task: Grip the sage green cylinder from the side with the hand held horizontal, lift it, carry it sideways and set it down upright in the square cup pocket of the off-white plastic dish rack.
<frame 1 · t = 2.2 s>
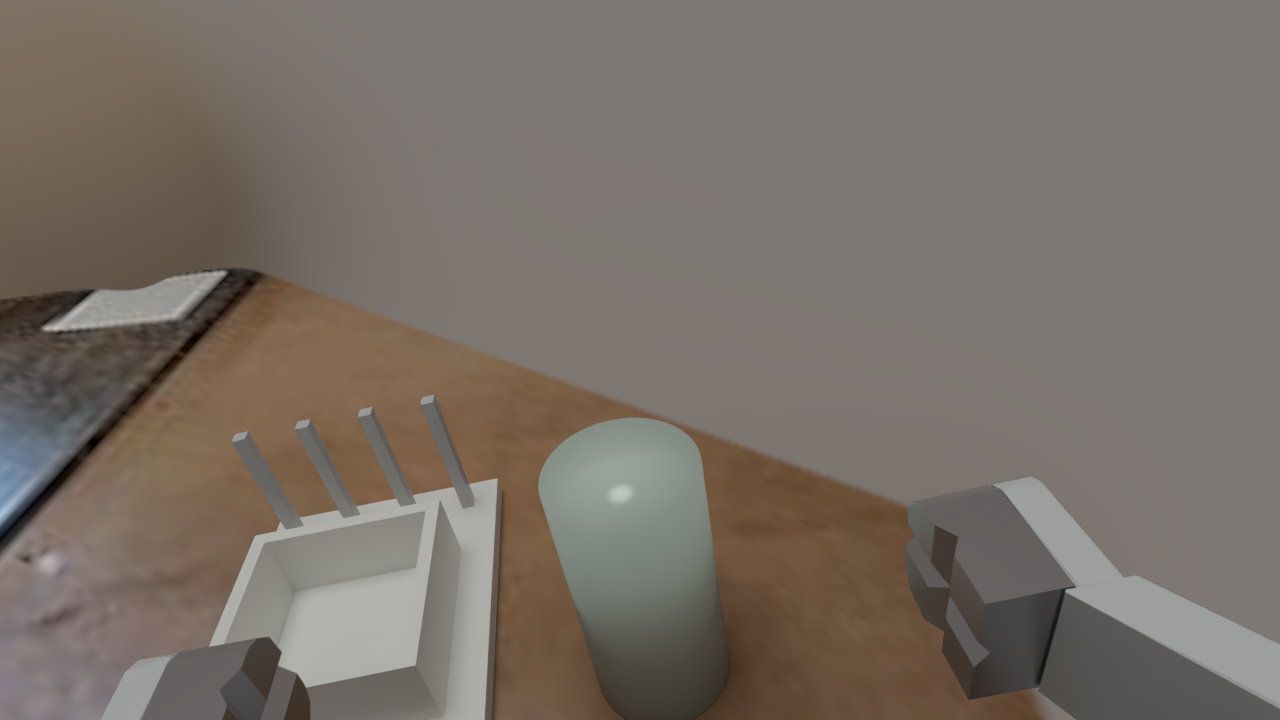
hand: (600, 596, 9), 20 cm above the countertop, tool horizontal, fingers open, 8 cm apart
sage green cylinder: (662, 662, 31), on the countertop
dish rack: (365, 656, 33), on the countertop
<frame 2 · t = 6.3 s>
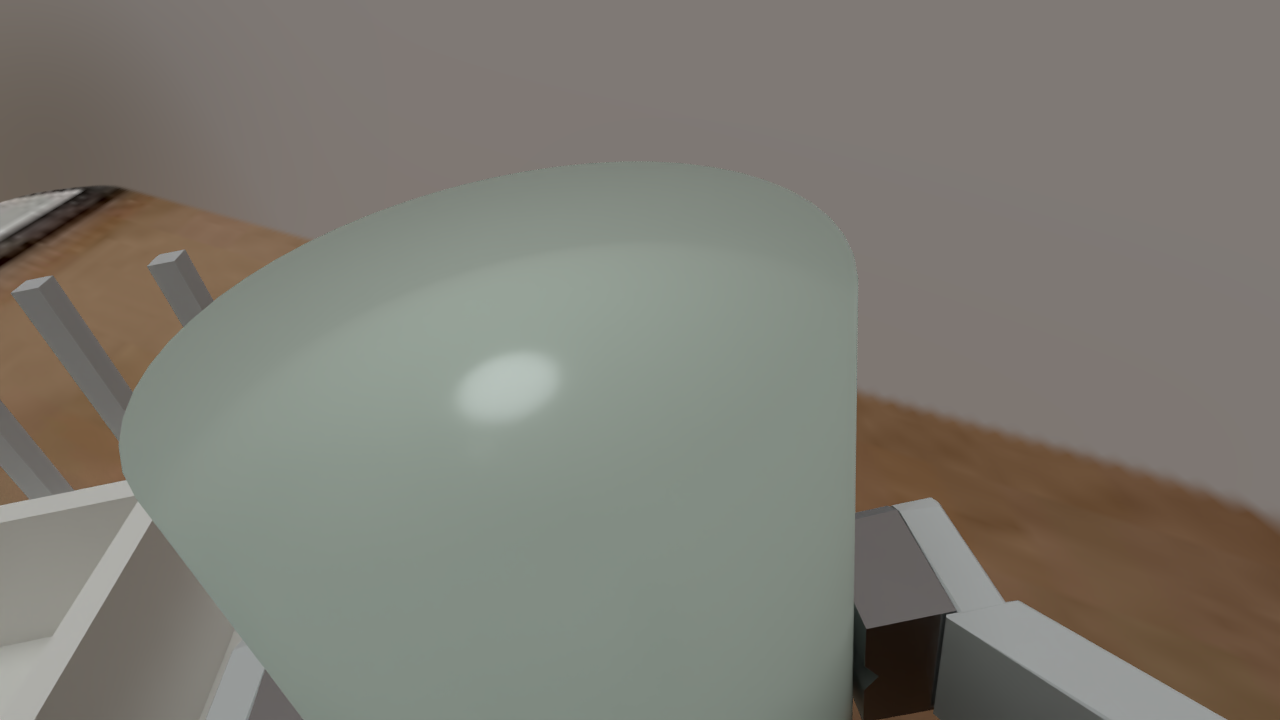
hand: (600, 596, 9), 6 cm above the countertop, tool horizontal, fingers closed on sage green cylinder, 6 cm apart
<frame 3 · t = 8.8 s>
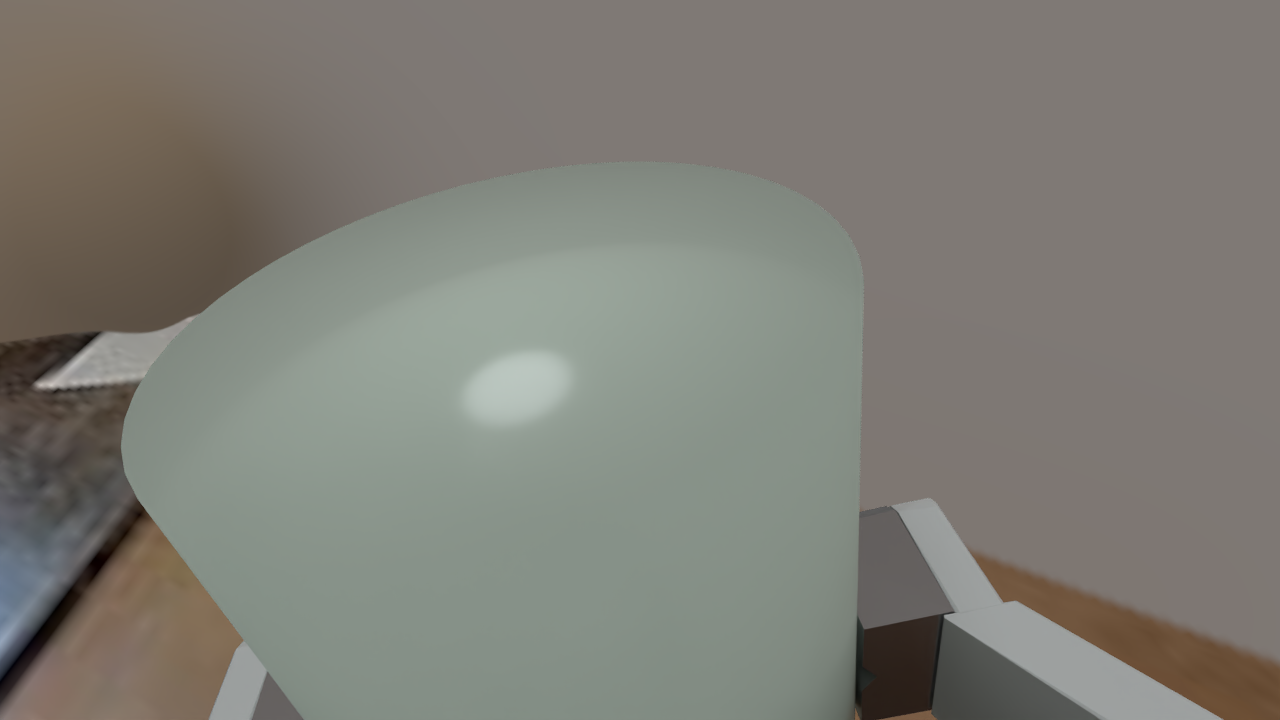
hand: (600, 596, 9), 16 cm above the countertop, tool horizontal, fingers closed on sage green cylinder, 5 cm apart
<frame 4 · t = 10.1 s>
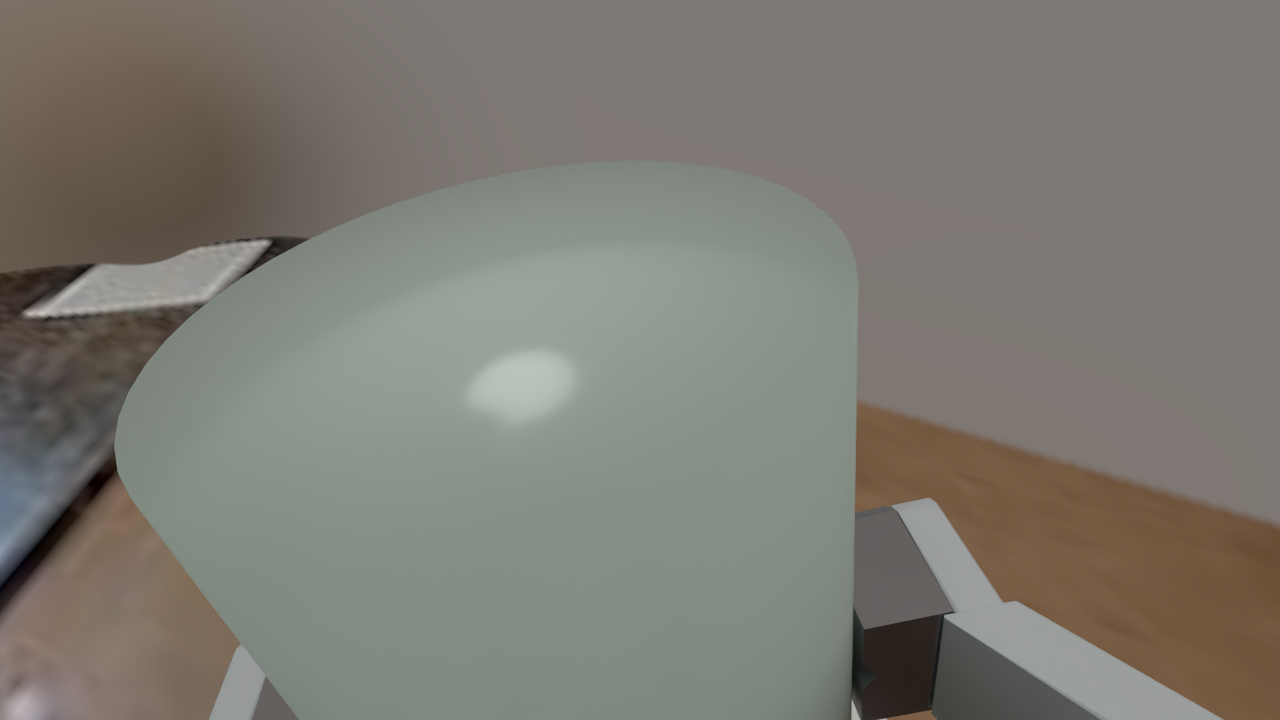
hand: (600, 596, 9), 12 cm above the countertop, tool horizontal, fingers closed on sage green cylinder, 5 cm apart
when the fingers open (8 cm above the countertop, at t = 11.2 s): sage green cylinder drops 1 cm, resting on dish rack.
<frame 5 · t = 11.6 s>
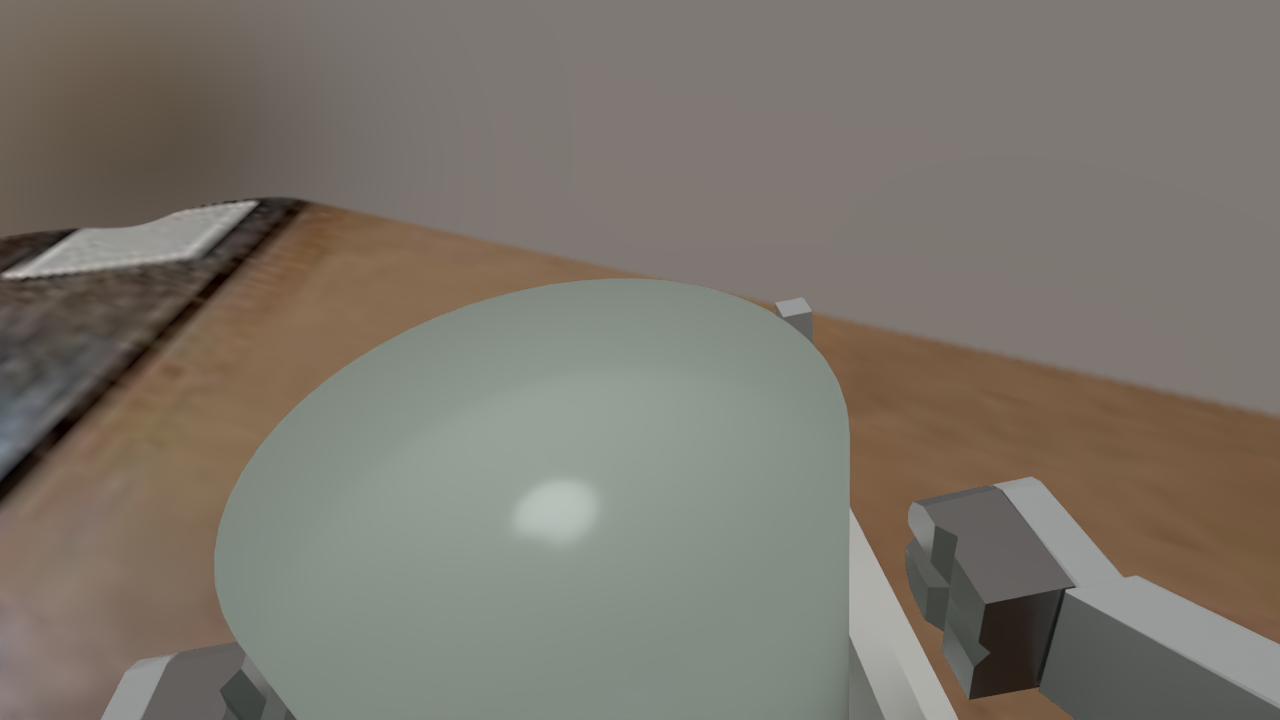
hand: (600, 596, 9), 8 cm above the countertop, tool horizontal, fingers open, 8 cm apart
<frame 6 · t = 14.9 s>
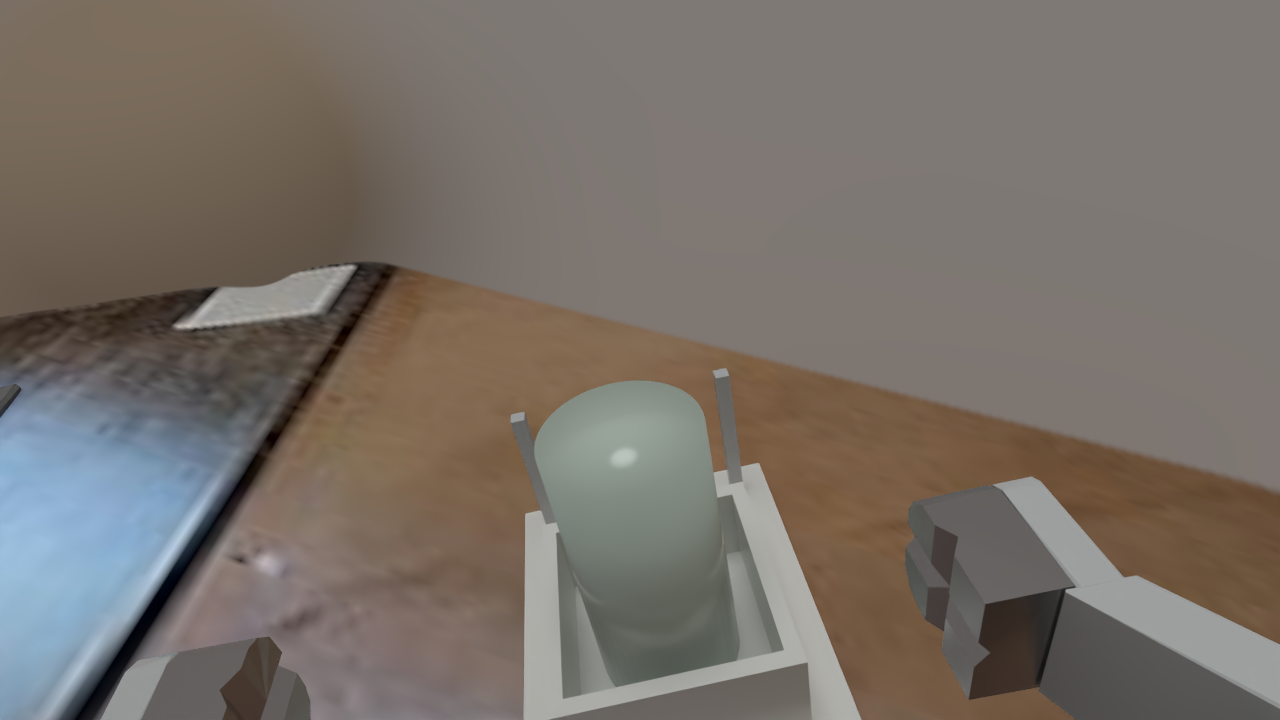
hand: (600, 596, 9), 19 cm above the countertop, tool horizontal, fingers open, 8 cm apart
sage green cylinder: (670, 642, 29), point 1 cm above the countertop, touching dish rack
dish rack: (674, 656, 30), on the countertop
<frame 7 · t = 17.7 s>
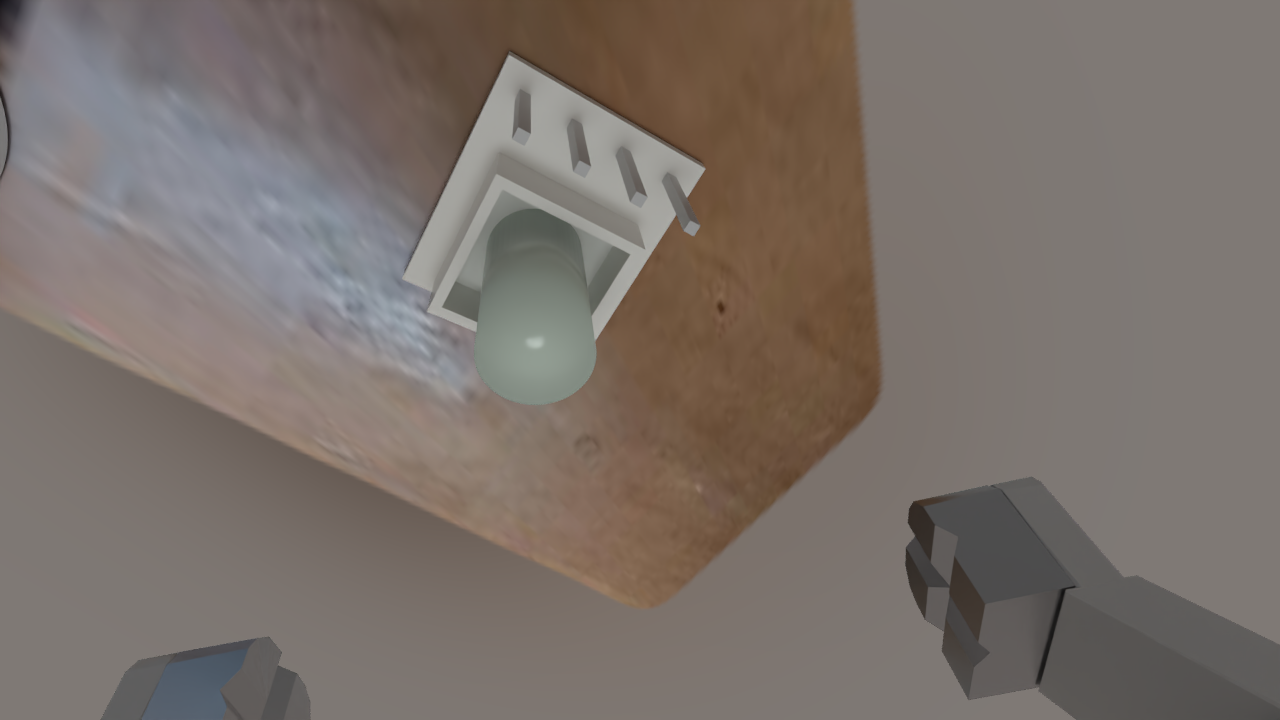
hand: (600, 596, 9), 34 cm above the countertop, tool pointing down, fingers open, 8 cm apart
sage green cylinder: (534, 253, 42), point 1 cm above the countertop, touching dish rack
dish rack: (535, 246, 43), on the countertop
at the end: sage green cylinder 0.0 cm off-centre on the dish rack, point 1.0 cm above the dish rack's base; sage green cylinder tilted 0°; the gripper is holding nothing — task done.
